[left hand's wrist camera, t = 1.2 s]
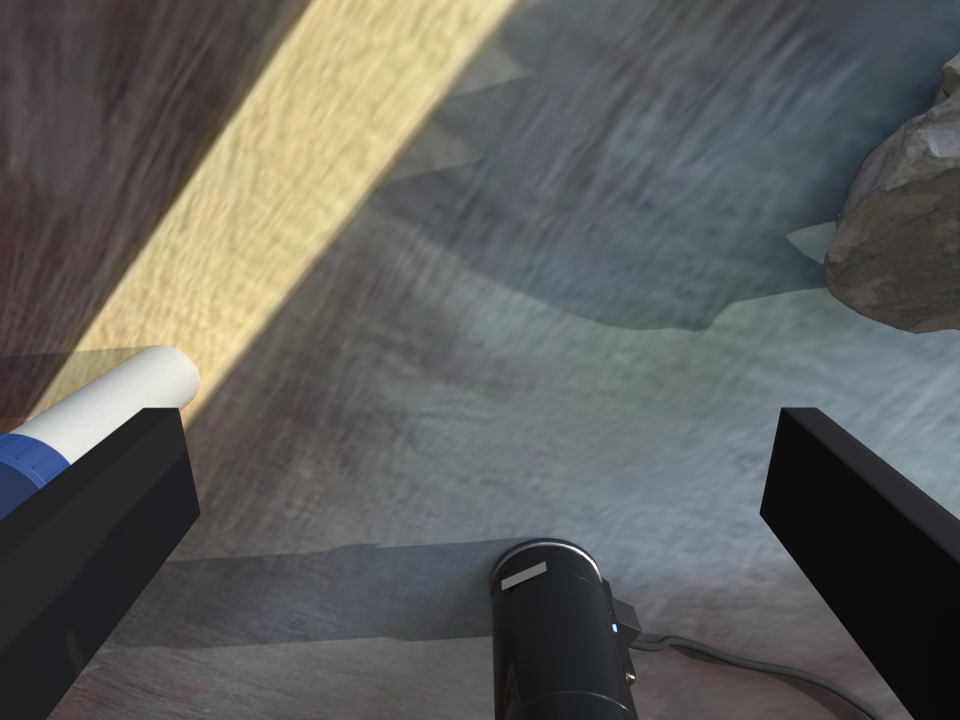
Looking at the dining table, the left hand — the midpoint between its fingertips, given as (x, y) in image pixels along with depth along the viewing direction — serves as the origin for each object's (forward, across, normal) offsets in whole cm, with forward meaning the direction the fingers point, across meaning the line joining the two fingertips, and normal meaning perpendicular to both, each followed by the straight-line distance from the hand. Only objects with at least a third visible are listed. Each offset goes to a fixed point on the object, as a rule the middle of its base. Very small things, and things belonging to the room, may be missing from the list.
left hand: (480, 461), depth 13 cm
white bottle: (+28, -23, -10) cm, 38 cm away
